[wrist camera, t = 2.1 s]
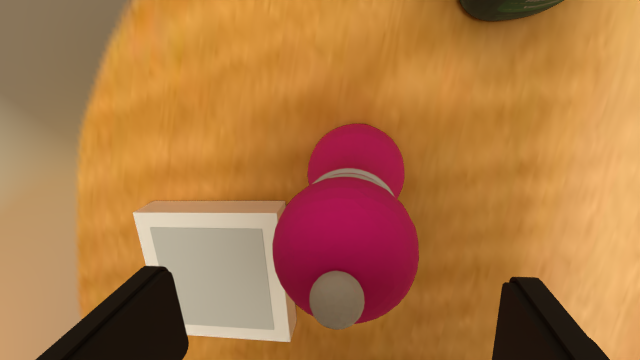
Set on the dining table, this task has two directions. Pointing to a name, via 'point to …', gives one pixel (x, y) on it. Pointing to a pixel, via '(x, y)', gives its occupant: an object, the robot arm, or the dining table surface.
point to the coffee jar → (506, 8)
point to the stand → (220, 265)
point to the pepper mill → (348, 231)
